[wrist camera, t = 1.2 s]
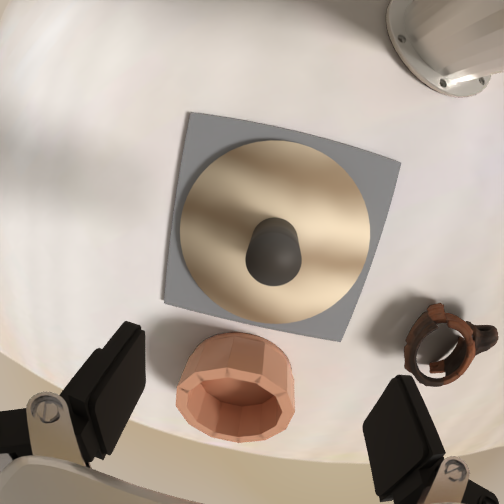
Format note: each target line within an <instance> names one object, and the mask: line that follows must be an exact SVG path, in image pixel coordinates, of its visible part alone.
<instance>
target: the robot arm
mask: <svg viewBox="0 0 504 504" xmlns="http://www.w3.org/2000/svg"><path fill="white" fill-rule="evenodd" d="M386 23H387V30H388V33H389V37H390V40H391V42H392V44H393V46H394V48H395V50H396V52H397V53H398V55H399V56H400V58H401V60H402V61H403V62H404V64H405V65H406V66H407V67H408V68H409V70H410V71H411V72H412V73H413V74H414V75H415V76H416V77H417V78H418V79H420V80H421V81H422V82H423V83H425V84H426V85H427V86H429V87H430V88H432V89H434V90H436V91H437V92H439V93H442V94H445V95H447V96H450V97H458V98H462V97H469V96H473V95H476V94H478V93H480V92H481V91H483V90H484V89H485V88H486V86H487V85H488V83H489V81H490V79H491V75H493V74H497V73H501V72H504V0H391V2H390V4H389V6H388V9H387V14H386ZM399 40H400V41H399ZM145 384H146V373H145V331H143V330H141V326H140V325H137V324H134V323H131V322H128V321H125V322H124V323H123V324H122V325H121V326H120V328H119V329H118V330H117V331H116V333H115V334H114V335H113V336H112V338H111V339H110V340H109V341H108V343H107V344H106V345H105V346H104V348H103V349H100V348H98V349H96V350H95V351H94V352H93V353H92V354H91V355H90V357H89V358H88V359H87V360H86V362H85V363H84V364H83V365H82V367H81V368H80V369H79V371H78V372H77V373H76V374H75V376H74V377H73V378H72V379H71V381H70V382H69V383H68V385H67V386H66V387H65V389H64V390H63V391H62V393H61V394H60V395H58V394H55V393H52V392H41V393H37V394H36V395H34V396H33V397H31V399H29V401H28V403H27V407H26V408H23V409H17V410H9V411H0V504H203V503H198V502H193V501H189V500H185V499H181V498H177V497H174V496H170V495H167V494H163V493H160V492H156V491H153V490H150V489H147V488H143V487H140V486H137V485H134V484H131V483H128V482H126V481H123V480H120V479H118V478H115V477H112V476H110V475H107V474H104V473H101V472H99V471H96V470H93V469H92V468H91V465H90V462H92V461H93V459H94V457H97V458H99V459H102V460H104V458H105V455H106V454H108V455H111V454H112V452H113V450H114V448H115V446H116V444H117V442H118V440H119V438H120V436H121V434H122V431H123V430H124V428H125V426H126V424H127V422H128V420H129V418H130V416H131V414H132V412H133V410H134V408H135V406H136V404H137V402H138V400H139V398H140V396H141V394H142V392H143V390H144V388H145ZM363 433H364V437H365V442H366V447H367V451H368V456H369V461H370V466H371V470H372V476H373V481H374V486H375V492H376V494H377V495H378V496H379V498H380V502H385V501H392V500H394V504H499V502H498V499H497V497H496V496H495V494H493V493H492V492H490V491H488V490H487V489H485V488H483V487H481V486H480V485H478V484H476V483H474V482H473V481H471V480H469V468H468V466H467V464H466V463H465V462H464V461H463V460H462V459H460V458H458V457H455V456H450V457H447V458H446V459H444V457H443V455H444V454H445V453H446V452H445V450H444V447H443V445H442V442H441V440H440V438H439V435H438V433H437V430H436V428H435V426H434V423H433V421H432V419H431V416H430V414H429V412H428V410H427V407H426V405H425V403H424V401H423V398H422V396H421V394H420V392H419V390H418V388H417V386H416V383H415V381H414V379H413V377H412V376H410V375H397V376H396V377H395V378H393V379H391V381H390V382H389V384H388V386H387V387H386V389H385V390H384V392H383V394H382V395H381V397H380V398H379V400H378V401H377V403H376V404H375V406H374V408H373V409H372V410H371V412H370V413H369V415H368V416H367V418H366V419H365V421H364V423H363Z"/></svg>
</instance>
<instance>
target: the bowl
mask: <svg viewBox="0 0 504 504" xmlns="http://www.w3.org/2000/svg"><path fill="white" fill-rule="evenodd" d="M176 407H177V408H178V410H179V411H180V413H181V414H182V415H183V417H184V418H185V419H186V421H187V422H188V424H190V425H191V426H193V427H195V428H196V429H198V430H200V431H202V432H203V433H205V434H207V435H209V436H210V437H214V438H218V439H223V440H227V441H232V442H237V443H241V442H252V441H261V440H266V439H268V438H270V437H272V436H274V435H276V434H278V433H280V432H282V431H283V430H285V429H286V428H287V426H288V424H289V422H290V420H291V418H292V416H293V414H294V412H295V398H294V378H293V375H292V368H291V364H290V362H289V360H288V358H287V356H286V355H285V354H284V352H283V351H282V350H281V349H280V348H279V347H277V346H276V345H275V344H273V343H272V342H270V341H268V340H266V339H264V338H262V337H259V336H256V335H252V334H247V333H238V332H233V333H223V334H219V335H215V336H212V337H210V338H208V339H206V340H204V341H203V342H202V343H200V344H199V345H198V346H197V348H196V349H195V350H194V352H193V354H192V355H191V356H190V357H189V359H188V361H187V364H186V366H185V369H184V371H183V373H182V376H181V378H180V381H179V383H178V386H177V394H176Z"/></svg>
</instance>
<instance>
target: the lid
mask: <svg viewBox="0 0 504 504" xmlns="http://www.w3.org/2000/svg"><path fill="white" fill-rule="evenodd" d="M180 242H181V248H182V253H183V256H184V259H185V262H186V265H187V267H188V269H189V271H190V273H191V276H192V277H193V279H194V280H195V282H196V283H197V285H198V286H199V287H200V288H201V290H202V291H203V292H204V293H205V294H206V295H207V296H208V297H209V298H210V299H211V300H212V301H213V302H215V303H216V304H217V305H219V306H220V307H222V308H223V309H225V310H226V311H228V312H230V313H232V314H234V315H236V316H239V317H241V318H244V319H247V320H251V321H254V322H260V323H269V324H282V323H291V322H297V321H301V320H304V319H307V318H311V317H313V316H315V315H317V314H319V313H322V312H323V311H325V310H326V309H328V308H330V307H331V306H333V305H334V304H335V303H336V302H338V301H339V300H340V299H341V298H342V297H343V296H344V295H345V294H346V293H347V292H348V291H349V290H350V288H351V287H352V286H353V284H354V283H355V282H356V280H357V278H358V277H359V275H360V273H361V271H362V269H363V266H364V264H365V261H366V258H367V254H368V250H369V243H370V223H369V216H368V211H367V208H366V205H365V201H364V199H363V197H362V195H361V193H360V190H359V189H358V187H357V186H356V184H355V182H354V181H353V179H352V178H351V177H350V176H349V175H348V173H347V172H346V171H345V170H344V169H343V168H342V167H341V166H340V165H339V164H337V163H336V162H335V161H334V160H333V159H331V158H330V157H328V156H327V155H325V154H323V153H322V152H320V151H317V150H315V149H313V148H311V147H308V146H305V145H302V144H299V143H294V142H288V141H273V140H270V141H261V142H255V143H251V144H247V145H243V146H241V147H238V148H236V149H233V150H231V151H229V152H228V153H226V154H224V155H222V156H221V157H219V158H218V159H217V160H215V161H214V162H213V163H212V164H210V165H209V166H208V167H207V168H206V169H205V170H204V171H203V172H202V174H201V175H200V176H199V177H198V179H197V180H196V182H195V183H194V184H193V186H192V188H191V190H190V192H189V194H188V196H187V198H186V201H185V204H184V207H183V211H182V215H181V222H180Z"/></svg>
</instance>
